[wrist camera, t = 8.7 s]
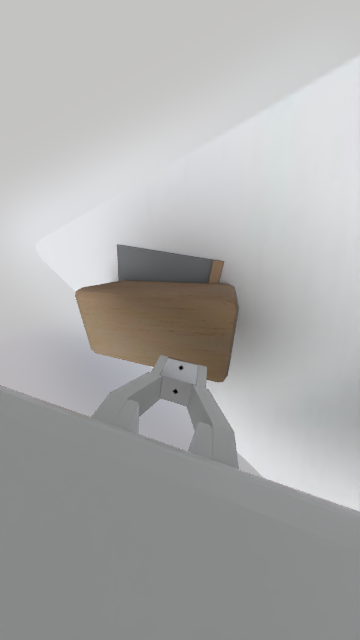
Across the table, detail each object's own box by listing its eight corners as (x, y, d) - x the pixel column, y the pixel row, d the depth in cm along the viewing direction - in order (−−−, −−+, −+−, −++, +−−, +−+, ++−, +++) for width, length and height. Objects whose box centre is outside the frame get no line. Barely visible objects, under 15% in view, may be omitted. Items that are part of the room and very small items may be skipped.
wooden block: (236, 283, 20) (122, 279, 26) (241, 300, 12) (69, 288, 17) (227, 342, 24) (130, 327, 30) (226, 388, 15) (89, 354, 21)
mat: (223, 261, 22) (224, 261, 20) (205, 332, 27) (204, 337, 25) (118, 244, 24) (110, 243, 22) (121, 313, 30) (115, 316, 28)
